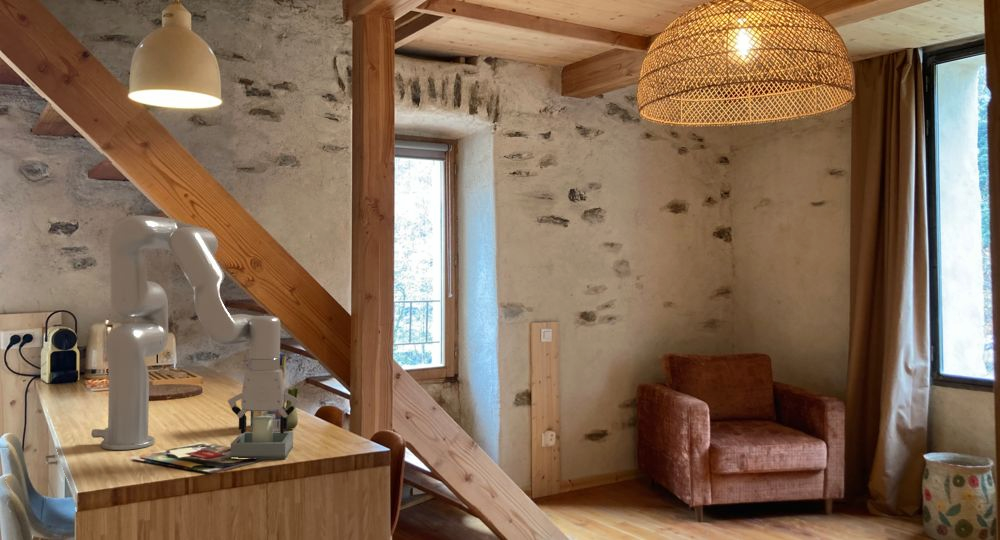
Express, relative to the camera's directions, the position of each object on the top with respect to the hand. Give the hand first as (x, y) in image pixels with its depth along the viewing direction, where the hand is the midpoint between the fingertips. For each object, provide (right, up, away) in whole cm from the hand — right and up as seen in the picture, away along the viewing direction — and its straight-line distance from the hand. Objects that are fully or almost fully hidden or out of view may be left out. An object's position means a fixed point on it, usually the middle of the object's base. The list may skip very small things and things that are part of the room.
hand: (263, 432), depth 198 cm
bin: (0, -5, 0) cm, 5 cm away
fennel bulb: (-1, -5, +28) cm, 28 cm away
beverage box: (-8, -5, +29) cm, 31 cm away
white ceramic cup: (0, -4, 0) cm, 4 cm away
